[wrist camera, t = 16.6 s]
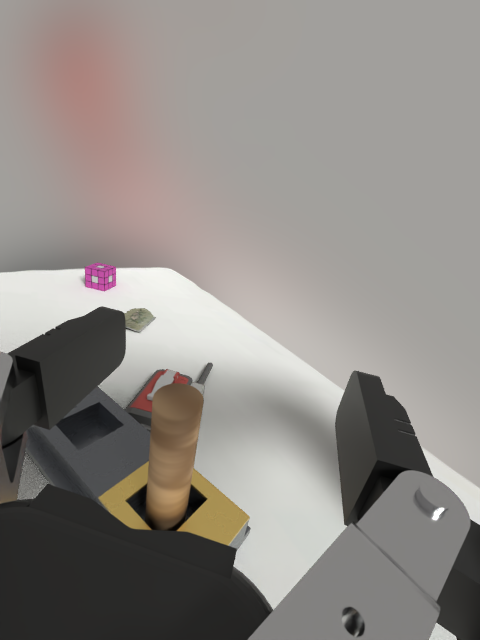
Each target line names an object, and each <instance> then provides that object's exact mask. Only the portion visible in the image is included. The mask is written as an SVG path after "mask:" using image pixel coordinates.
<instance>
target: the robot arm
mask: <svg viewBox="0 0 480 640" xmlns="http://www.w3.org/2000/svg"><path fill="white" fill-rule="evenodd" d="M125 350H126V322H125V314H124V313H123V312H122V311H118V310H114V309H110V308H106V307H99V308H97V309H95V310H93V311H92V312H90V313H88V314H86V315H85V316H82V317H79V318H75V319H71V320H68V321H66V322H64V323H62V324H61V325H59V326H57V327H56V328H55V329H51V330H50V331H48V332H46V333H45V335H44V334H42V335H40V336H39V337H37V338H35V339H33V340H31V341H29V342H28V343H26V344H24V345H22V346H20V347H19V348H17V349H15V350H13V351H11V352H9V353H8V354H6V353H3V352H0V640H429V638H430V635H431V633H432V631H433V629H434V626H435V624H436V622H437V623H438V624H439V625H441V626H442V627H444V628H445V629H447V630H448V631H449V632H451V633H452V634H454V635H455V636H456V638H457V640H480V525H479V524H477V523H475V522H474V521H472V520H471V519H470V517H469V514H468V511H467V509H466V508H465V506H464V504H463V503H462V501H461V500H460V499H459V497H458V496H457V495H456V494H455V493H454V492H453V491H452V490H451V489H450V488H449V487H447V486H446V485H445V484H443V483H442V482H441V481H439V480H438V479H436V478H434V477H433V475H432V473H431V470H430V468H429V466H428V463H427V461H426V458H425V456H424V454H423V451H422V449H421V446H420V444H419V442H418V439H417V437H416V436H415V432H414V429H413V427H412V425H410V423H411V422H410V420H409V417H408V415H407V412H406V410H405V409H404V407H403V406H402V405H401V404H400V403H399V402H398V401H397V400H396V399H395V398H394V397H393V396H389V395H386V394H385V391H384V388H383V385H382V382H381V379H380V377H378V376H374V375H370V374H366V373H363V372H359V371H353V373H352V374H351V376H350V379H349V381H348V384H347V387H346V389H345V392H344V394H343V397H342V400H341V402H340V405H339V407H338V411H337V415H336V422H335V428H336V439H337V450H338V461H339V471H340V482H341V493H342V504H343V514H344V525H347V526H348V527H347V528H346V529H345V530H344V531H343V532H342V533H341V534H340V535H339V537H338V538H337V539H336V540H335V541H334V542H333V543H332V545H331V546H330V547H329V548H328V549H327V550H326V551H325V552H324V554H323V555H322V556H321V557H320V558H319V559H318V560H317V562H316V563H315V564H314V565H313V566H312V567H311V568H310V569H309V571H308V572H307V573H306V574H305V575H304V576H303V577H302V579H301V580H300V581H299V582H298V583H297V584H296V585H295V586H294V588H293V589H292V590H291V591H290V592H289V593H288V594H287V596H286V597H285V598H284V599H283V600H282V601H281V602H280V603H279V605H278V606H277V607H276V608H275V609H274V610H273V609H272V607H271V606H270V604H269V603H268V601H267V600H266V598H265V597H264V595H263V594H262V593H261V592H260V591H259V589H258V588H257V587H256V586H255V585H254V583H252V582H251V581H250V580H249V579H248V578H247V577H246V576H245V575H244V574H243V573H242V572H240V571H239V570H238V569H236V568H235V567H233V565H234V560H235V555H236V551H237V548H234V547H231V546H228V545H225V544H222V543H219V542H216V541H213V540H210V539H207V538H204V537H202V536H199V535H196V534H193V533H190V532H184V531H164V530H144V529H133V528H130V527H128V526H126V525H125V524H124V523H123V522H121V521H120V520H119V519H117V518H116V517H115V516H113V515H112V514H111V513H109V512H108V511H107V510H105V509H104V508H103V507H102V506H100V505H99V504H98V503H96V502H95V501H94V500H92V499H91V498H88V497H85V496H82V495H79V494H76V493H73V492H70V491H67V490H64V489H62V488H59V487H56V486H53V485H50V484H47V485H46V487H45V488H44V489H43V490H42V491H41V492H40V493H39V494H38V496H37V497H36V498H35V499H26V500H17V494H18V487H19V482H20V477H21V471H22V466H23V460H24V455H25V449H26V444H27V432H26V430H27V429H29V428H30V427H31V426H32V425H35V426H39V427H42V428H45V429H48V430H50V429H51V428H53V427H54V426H55V425H56V424H57V423H58V422H59V421H60V420H61V419H62V418H63V417H64V416H66V415H67V414H68V413H69V412H70V411H71V410H72V409H73V408H74V407H75V406H76V405H77V404H79V403H80V402H81V401H82V400H83V399H84V398H85V397H86V396H87V395H88V394H89V393H90V392H91V391H93V390H94V389H95V388H96V387H97V386H98V385H99V384H100V383H101V382H102V381H103V380H104V379H106V378H107V377H108V376H109V375H110V374H111V373H112V372H113V371H114V370H115V369H116V368H117V367H118V366H119V365H120V364H121V362H122V361H123V358H124V356H125Z"/></svg>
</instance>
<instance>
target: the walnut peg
mask: <svg viewBox="0 0 480 640" xmlns="http://www.w3.org/2000/svg"><path fill="white" fill-rule="evenodd" d="M203 401H204V400H203V396H202V394H201V392H200V391H199V390H197V389H196V388H195V387H193V386H190V385H187V384H182V383H173V384H168V385H165V386H163V387H161V388H159V389H158V390H157V391H156V392H155V393H154V395H153V401H152V417H151V433H150V449H149V465H148V481H147V498H146V514H145V523H146V524H147V525H148V526H149V527H150V529H151V530H164V531H177V530H178V529H179V528H180V527H181V526H182V525H183V524H184V523H185V519H186V513H187V506H188V500H189V493H190V487H191V480H192V474H193V467H194V460H195V454H196V447H197V441H198V434H199V428H200V421H201V415H202V408H203Z"/></svg>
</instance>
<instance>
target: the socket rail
mask: <svg viewBox="0 0 480 640" xmlns="http://www.w3.org/2000/svg"><path fill="white" fill-rule="evenodd" d="M26 432H27V444H26V449H25V451H26V453H27V454H28V455H29V457H30V458H31V459H32V461H33V462H34V463H35V465H36V466H37V467H38V469H39V470H40V471H41V473H42V474H43V475H44V477H45V478H46V479H47V481H48V482H49V483H50V485H53V486H56V487H59V488H62V489H64V490H67V491H70V492H73V493H76V494H79V495H82V496H85V497H88V498H91V499H92V500H94V501H95V502H96V503H98V504H99V505H100V506H102V507H103V508H104V509H105V510H107V511H108V512H109V513H111V514H112V515H113V516H115V517H116V518H117V519H119V520H120V521H121V522H123V523H124V524H125V525H126V526H128V527H130V528H133V529H144V530H151V529H150V527H149V526H148V525H147V524H146V523H145V514H146V498H147V481H148V465H149V449H150V432H149V431H148V430H147V429H146V428H144V427H143V426H142V425H141V424H140V423H139V422H138V421H136V420H135V419H134V418H133V417H132V416H131V415H129V414H128V413H127V412H126V411H125V410H124V409H123V408H121V407H120V406H119V405H118V404H117V403H116V402H115V401H113V400H112V399H111V398H110V397H109V396H108V395H107V394H105V393H104V392H103V391H102V390H101V389H100V388H98V387H96V388H95V389H94V390H93V391H91V392H90V393H89V394H88V395H87V396H86V397H85V398H84V399H83V400H82V401H81V402H80V403H79V404H77V405H76V406H75V407H74V408H73V409H72V410H71V411H70V412H69V413H68V414H67V415H66V416H64V417H63V418H62V419H61V420H60V421H59V422H58V423H57V424H56V425H55V426H54V427H53V428H51V429H50V430H48V429H45V428H42V427H39V426H35V425H32V426H31V427H30V428H29V429H27V430H26ZM249 518H250V517H249V516H248V515H247V514H246V513H245V512H244V511H242V510H241V509H240V508H239V507H238V506H237V505H236V504H234V503H233V502H232V501H231V500H230V499H229V498H227V497H226V496H225V495H224V494H223V493H222V492H220V491H219V490H218V489H217V488H216V487H215V486H214V485H212V484H211V483H210V482H209V481H208V480H207V479H205V478H204V477H203V476H202V475H201V474H200V473H199V472H197V471H196V470H195V469H194V468H193V474H192V480H191V487H190V493H189V500H188V506H187V513H186V519H185V523H184V524H183V525H182V526H181V527H180V528H179V529H178V530H177V531H184V532H190V533H193V534H196V535H199V536H202V537H204V538H207V539H210V540H213V541H216V542H219V543H222V544H225V545H228V546H231V547H234V548H237V549H238V548H239V547H240V545H241V544H242V543H243V541H244V540H245V539H246V537H247V536H248V534H249V532H250V527H249V526H247V525H248V521H249Z"/></svg>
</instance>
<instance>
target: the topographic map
mask: <svg viewBox="0 0 480 640" xmlns="http://www.w3.org/2000/svg"><path fill="white" fill-rule="evenodd" d="M124 314H125V322H126V328H129V329H131V330H134V331H137V332H141V331H142V330H143V329H144V328H145V327H146V326H147V325H148V324H150V323H151V322H152V321H153V320H154V319H155V318H156V317H154V316H153V315H152V314H151V312H150V311H148V310H147V309H145V308H139V309H136V308H135V309H131V310H130V311H127V313H124Z"/></svg>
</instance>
